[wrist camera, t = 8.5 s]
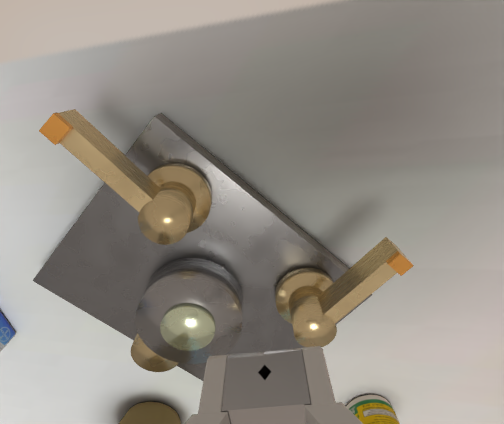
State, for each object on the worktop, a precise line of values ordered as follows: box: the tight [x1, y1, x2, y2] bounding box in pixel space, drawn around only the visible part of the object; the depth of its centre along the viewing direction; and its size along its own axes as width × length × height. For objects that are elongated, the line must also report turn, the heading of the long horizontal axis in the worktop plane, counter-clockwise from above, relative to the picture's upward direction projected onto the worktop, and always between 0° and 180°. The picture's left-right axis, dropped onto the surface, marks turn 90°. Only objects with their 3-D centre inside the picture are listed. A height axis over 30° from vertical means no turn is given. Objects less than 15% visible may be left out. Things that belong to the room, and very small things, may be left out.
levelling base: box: [33, 113, 372, 381], centre depth 27 cm, size 17×22×6 cm
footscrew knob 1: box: [39, 109, 212, 245], centre depth 21 cm, size 10×5×5 cm, turn 42°
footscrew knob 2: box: [275, 237, 413, 347], centre depth 25 cm, size 10×5×5 cm, turn 139°
